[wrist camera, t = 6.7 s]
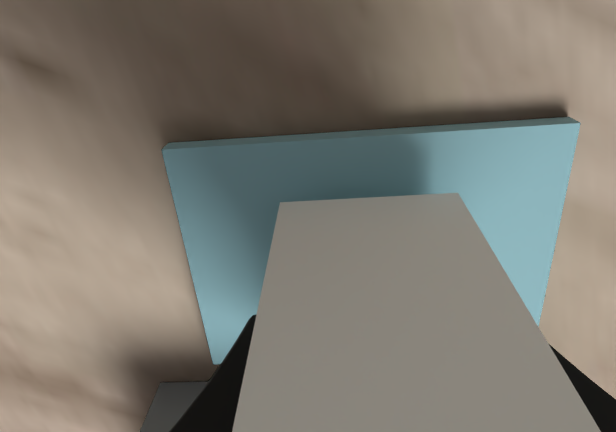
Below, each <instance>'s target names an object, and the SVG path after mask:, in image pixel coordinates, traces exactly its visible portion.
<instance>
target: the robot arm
mask: <svg viewBox="0 0 616 432" xmlns="http://www.w3.org/2000/svg"><path fill="white" fill-rule="evenodd" d="M255 320H256V315H253V316H252V317H251V318H249V320H248V322H247V323H246V325H245V327H244V328H243V330H242V332H241V333H240V335H239V337H238V338H237V340H236V341H235V343H234V345H233V346H232V348H231V349H230V351H229V352H228V354H227V355H226V357H225V358H224V360H223V361H222V363H221V364H220V366H219V367H218V368H217V370H216V371H215V373H214V374H213V376H212V377H211V379H210V380H209V381H208V383H207V384H206V386H205V387H204V388H203V390H202V391H201V392H200V394H199V395H198V396H197V397H196V399H195V400H194V401H193V402H192V404H191V405H190V406H189V408H188V409H187V410H186V411H185V413H184V414H183V415H182V417H181V418H180V419H179V420H178V422H177V423H176V424H175V425H174V426H173V427H172V429H171V430H170V431H169V432H232V430H233V425H234V420H235V415H236V410H237V406H238V401H239V396H240V391H241V387H242V382H243V377H244V372H245V367H246V363H247V358H248V353H249V348H250V343H251V339H252V334H253V329H254V324H255ZM549 346H550V347H551V349H552V351H553V352H554V354H555V356H556V357H557V359H558V361H559V362H560V364H561V366H562V367H563V369H564V371H565V372H566V374H567V376H568V377H569V379H570V381H571V382H572V384H573V386H574V387H575V389H576V391H577V392H578V394H579V396H580V397H581V399H582V401H583V402H584V404H585V406H586V407H587V409H588V411H589V412H590V414H591V416H592V417H593V419H594V421H595V422H596V424H597V426H598V427H599V429H600V431H601V432H616V399H614V398H613V397H612V396H610V395H609V394H608V393H607V392H605V391H604V390H603V389H602V388H600V387H599V386H598V385H597V384H595V383H594V382H593V381H592V380H590V379H589V378H588V377H587V376H586V375H584V374H583V373H582V372H581V371H580V370H578V369H577V368H576V367H575V366H574V365H572V364H571V363H570V362H569V361H568V360H567V359H565V358H564V357H563V356H562V355H561V354H560V353H559V352H557V351H556V350H555V349H554V348H553V347H552V346H551V345H549Z"/></svg>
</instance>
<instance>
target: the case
mask: <svg viewBox="0 0 616 432" xmlns="http://www.w3.org/2000/svg"><path fill="white" fill-rule="evenodd" d="M207 383H208V382H169V383H160V385H159V387H158V390H157V392H156V394H155V397H154V399H153V401H152V404H151V406H150V408H149V411H148V413H147V415H146V418H145V420H144V423H143V425H142V427H141V430H140V432H169V431H170V430H171V429H172V427H173V426H174V425H175V424H176V423H177V422H178V420H179V419H180V418H181V417H182V415H183V414H184V413H185V411H186V410H187V409H188V408H189V406H190V405H191V404H192V402H193V401H194V400H195V399H196V397H197V396H198V395H199V394H200V392H201V391H202V390H203V388H204V387H205V386H206V384H207Z"/></svg>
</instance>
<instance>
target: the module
mask: <svg viewBox="0 0 616 432" xmlns="http://www.w3.org/2000/svg"><path fill="white" fill-rule="evenodd" d="M232 432H601V431H600V429H599V427H598V426H597V424H596V422H595V421H594V419H593V417H592V416H591V414H590V412H589V411H588V409H587V407H586V406H585V404H584V402H583V401H582V399H581V397H580V396H579V394H578V392H577V391H576V389H575V387H574V386H573V384H572V382H571V381H570V379H569V377H568V376H567V374H566V372H565V371H564V369H563V367H562V366H561V364H560V362H559V361H558V359H557V357H556V356H555V354H554V352H553V351H552V349H551V347H550V346H549V344H548V342H547V341H546V339H545V337H544V336H543V334H542V332H541V331H540V329H539V327H538V326H537V324H536V322H535V321H534V319H533V317H532V316H531V314H530V312H529V311H528V309H527V307H526V305H525V304H524V302H523V300H522V299H521V297H520V295H519V294H518V292H517V290H516V289H515V287H514V285H513V284H512V282H511V280H510V279H509V277H508V275H507V274H506V272H505V270H504V269H503V267H502V265H501V264H500V262H499V260H498V259H497V257H496V255H495V254H494V252H493V250H492V249H491V247H490V245H489V244H488V242H487V240H486V239H485V237H484V235H483V234H482V232H481V230H480V229H479V227H478V225H477V224H476V222H475V220H474V219H473V217H472V215H471V214H470V212H469V210H468V209H467V207H466V205H465V204H464V202H463V200H462V199H461V197H460V195H459V194H458V193H443V194H425V195H406V196H387V197H369V198H350V199H332V200H313V201H294V202H280V205H279V209H278V214H277V219H276V224H275V229H274V233H273V238H272V243H271V248H270V253H269V257H268V262H267V267H266V272H265V276H264V281H263V286H262V291H261V296H260V300H259V305H258V310H257V315H256V320H255V324H254V329H253V334H252V339H251V343H250V348H249V353H248V358H247V363H246V367H245V372H244V377H243V382H242V387H241V391H240V396H239V401H238V406H237V410H236V415H235V420H234V425H233V430H232Z"/></svg>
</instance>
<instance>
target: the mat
mask: <svg viewBox="0 0 616 432" xmlns="http://www.w3.org/2000/svg"><path fill="white" fill-rule="evenodd" d="M579 128H580V122H578V121H576V120H574V119H572V118H570V117H559V118H544V119H528V120H513V121H497V122H482V123H467V124H451V125H436V126H420V127H405V128H390V129H374V130H359V131H344V132H328V133H313V134H297V135H282V136H267V137H251V138H236V139H220V140H205V141H190V142H174V143H168V144H167V145H166V146H165V147H164V148H163V149H162V154H163V158H164V163H165V167H166V171H167V175H168V179H169V183H170V187H171V192H172V196H173V200H174V204H175V208H176V212H177V216H178V221H179V225H180V229H181V233H182V237H183V241H184V245H185V250H186V254H187V258H188V262H189V266H190V270H191V274H192V279H193V283H194V287H195V291H196V295H197V299H198V303H199V308H200V312H201V316H202V320H203V324H204V328H205V332H206V337H207V341H208V345H209V349H210V353H211V357H212V361H213V364H221V363H222V361H223V360H224V358H225V357H226V355H227V354H228V352H229V351H230V349H231V348H232V346H233V345H234V343H235V341H236V340H237V338H238V337H239V335H240V333H241V332H242V330H243V328H244V327H245V325H246V323H247V322H248V320H249V318H251V317H252V316H253V315H257V310H258V305H259V300H260V296H261V291H262V286H263V281H264V276H265V272H266V267H267V262H268V257H269V253H270V248H271V243H272V238H273V233H274V229H275V224H276V219H277V214H278V209H279V205H280V202H294V201H313V200H332V199H350V198H369V197H387V196H406V195H425V194H443V193H458V194H459V195H460V197H461V199H462V200H463V202H464V204H465V205H466V207H467V209H468V210H469V212H470V214H471V215H472V217H473V219H474V220H475V222H476V224H477V225H478V227H479V229H480V230H481V232H482V234H483V235H484V237H485V239H486V240H487V242H488V244H489V245H490V247H491V249H492V250H493V252H494V254H495V255H496V257H497V259H498V260H499V262H500V264H501V265H502V267H503V269H504V270H505V272H506V274H507V275H508V277H509V279H510V280H511V282H512V284H513V285H514V287H515V289H516V290H517V292H518V294H519V295H520V297H521V299H522V300H523V302H524V304H525V305H526V307H527V309H528V311H529V312H530V314H531V316H532V317H533V319H534V321H535V322H536V324H537V326H539V321H540V316H541V311H542V307H543V302H544V297H545V292H546V287H547V283H548V278H549V273H550V268H551V263H552V258H553V254H554V249H555V244H556V239H557V234H558V229H559V225H560V220H561V215H562V210H563V205H564V200H565V196H566V191H567V186H568V181H569V176H570V172H571V167H572V162H573V157H574V152H575V147H576V143H577V138H578V133H579Z"/></svg>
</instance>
